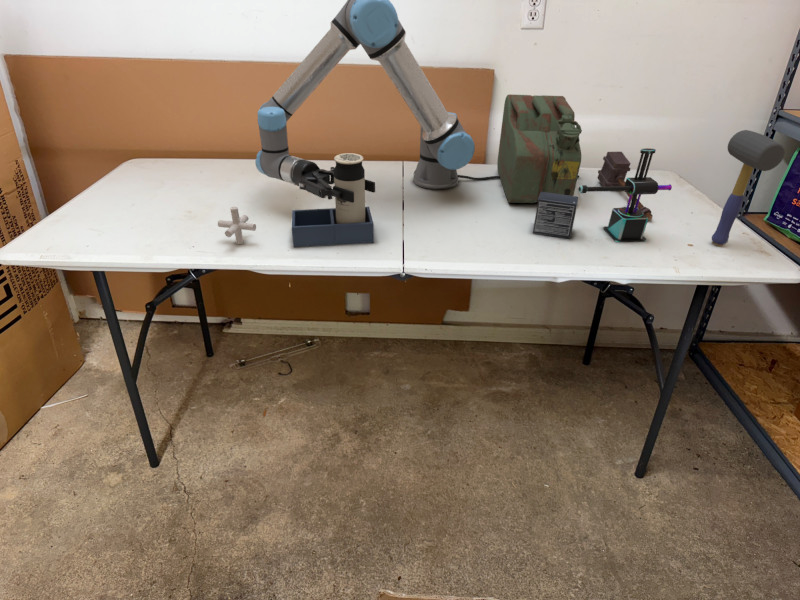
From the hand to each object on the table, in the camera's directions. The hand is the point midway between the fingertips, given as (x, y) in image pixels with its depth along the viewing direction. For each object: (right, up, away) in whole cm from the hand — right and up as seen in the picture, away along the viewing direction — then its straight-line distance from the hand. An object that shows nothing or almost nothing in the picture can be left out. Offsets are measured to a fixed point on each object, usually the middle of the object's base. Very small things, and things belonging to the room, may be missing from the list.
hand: (363, 192), depth 135 cm
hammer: (+83, +4, +34) cm, 89 cm away
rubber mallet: (+97, -13, +9) cm, 99 cm away
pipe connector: (-34, -13, +5) cm, 36 cm away
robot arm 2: (+68, -10, +13) cm, 70 cm away
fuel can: (+54, +10, +42) cm, 69 cm away
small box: (+53, -9, +14) cm, 55 cm away
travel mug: (-4, -7, +8) cm, 11 cm away
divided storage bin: (-9, -10, +9) cm, 17 cm away
